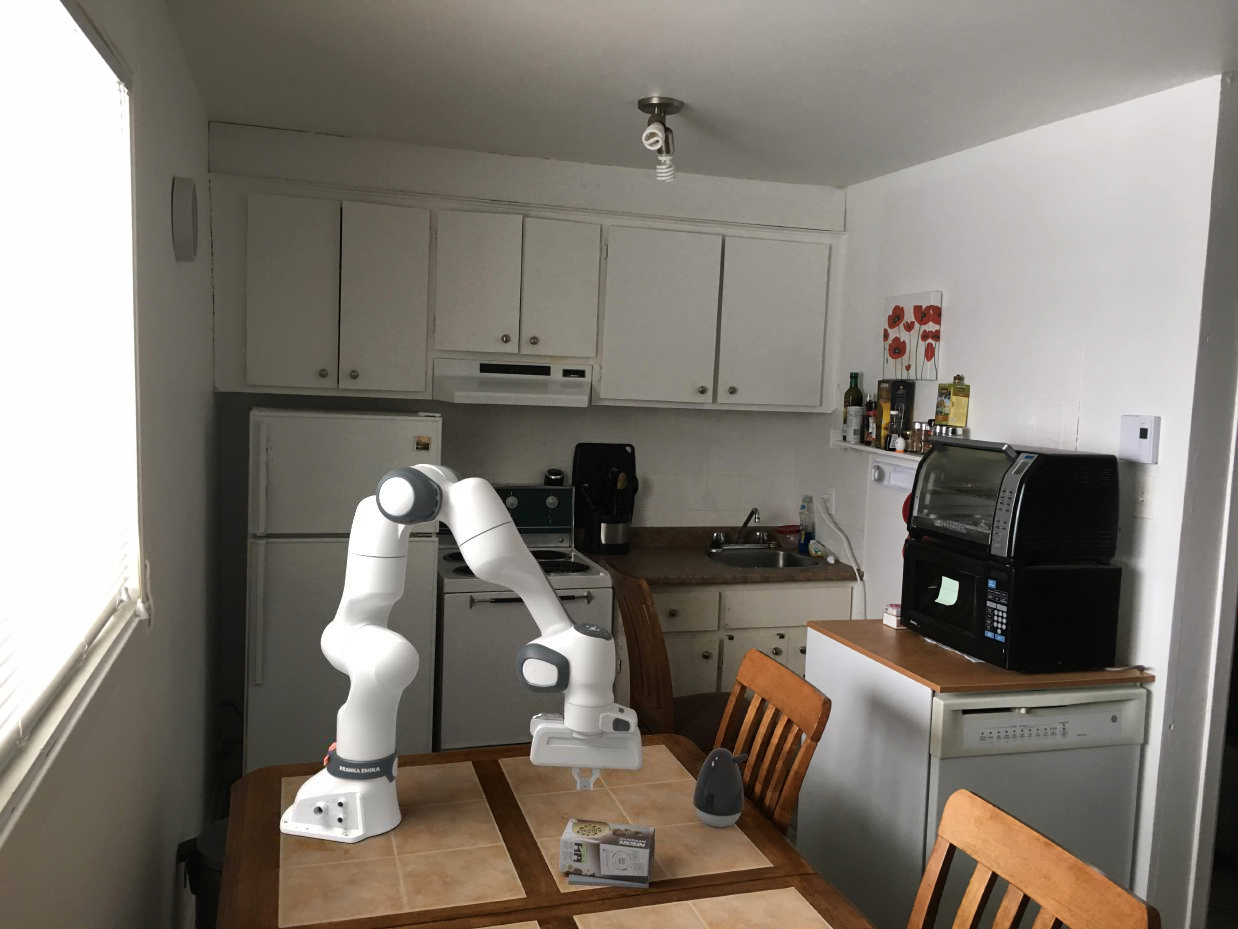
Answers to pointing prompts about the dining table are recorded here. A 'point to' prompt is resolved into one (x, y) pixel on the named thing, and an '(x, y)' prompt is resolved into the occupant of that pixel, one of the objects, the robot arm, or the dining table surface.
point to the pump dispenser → (719, 789)
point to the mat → (602, 881)
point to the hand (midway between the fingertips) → (585, 789)
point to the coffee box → (607, 850)
